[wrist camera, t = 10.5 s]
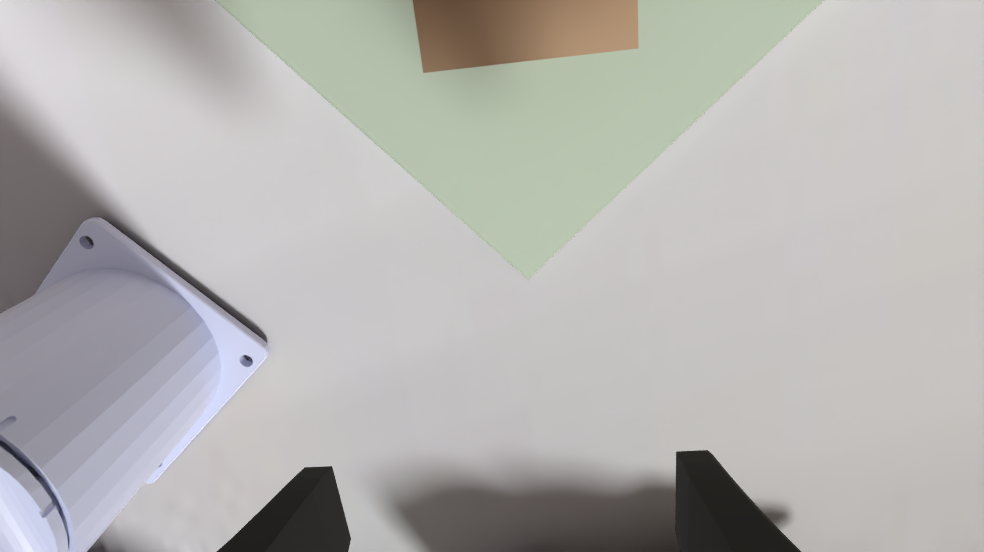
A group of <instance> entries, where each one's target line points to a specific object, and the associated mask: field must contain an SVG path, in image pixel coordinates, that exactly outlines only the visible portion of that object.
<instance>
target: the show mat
mask: <svg viewBox="0 0 984 552" xmlns="http://www.w3.org/2000/svg"><path fill="white" fill-rule="evenodd" d="M215 1H216V2H217V3H218V4H220V5H221V6H222V7H223V8H224V9H225V10H226V11H227V12H229V13H230V14H231V15H232V16H233V17H234V18H235V19H236V20H238V21H239V22H240V23H241V24H242V25H243V26H244V27H245V28H246V29H248V30H249V31H250V32H251V33H252V34H253V35H254V36H255V37H257V38H258V39H259V40H260V41H261V42H262V43H263V44H264V45H266V46H267V47H268V48H269V49H270V50H271V51H272V52H273V53H274V54H276V55H277V56H278V57H279V58H280V59H281V60H282V61H283V62H285V63H286V64H287V65H288V66H289V67H290V68H291V69H292V70H294V71H295V72H296V73H297V74H298V75H299V76H300V77H301V78H302V79H304V80H305V81H306V82H307V83H308V84H309V85H310V86H311V87H313V88H314V89H315V90H316V91H317V92H318V93H319V94H320V95H321V96H323V97H324V98H325V99H326V100H327V101H328V102H329V103H330V104H332V105H333V106H334V107H335V108H336V109H337V110H338V111H339V112H341V113H342V114H343V115H344V116H345V117H346V118H347V119H348V120H349V121H351V122H352V123H353V124H354V125H355V126H356V127H357V128H358V129H360V130H361V131H362V132H363V133H364V134H365V135H366V136H367V137H369V138H370V139H371V140H372V141H373V142H374V143H375V144H376V145H377V146H379V147H380V148H381V149H382V150H383V151H384V152H385V153H386V154H388V155H389V156H390V157H391V158H392V159H393V160H394V161H395V162H396V163H398V164H399V165H400V166H401V167H402V168H403V169H404V170H405V171H407V172H408V173H409V174H410V175H411V176H412V177H413V178H414V179H416V180H417V181H418V182H419V183H420V184H421V185H422V186H423V187H424V188H426V189H427V190H428V191H429V192H430V193H431V194H432V195H433V196H435V197H436V198H437V199H438V200H439V201H440V202H441V203H442V204H444V205H445V206H446V207H447V208H448V209H449V210H450V211H451V212H452V213H454V214H455V215H456V216H457V217H458V218H459V219H460V220H461V221H463V222H464V223H465V224H466V225H467V226H468V227H469V228H470V229H472V230H473V231H474V232H475V233H476V234H477V235H478V236H479V237H480V238H482V239H483V240H484V241H485V242H486V243H487V244H488V245H489V246H491V247H492V248H493V249H494V250H495V251H496V252H497V253H498V254H499V255H501V256H502V257H503V258H504V259H505V260H506V261H507V262H508V263H510V264H511V265H512V266H513V267H514V268H515V269H516V270H517V271H519V272H520V273H521V274H522V275H523V276H524V277H525V278H526V279H527V280H528V279H530V278H531V277H532V276H533V275H534V274H535V273H536V272H537V271H538V270H539V269H540V268H541V267H542V266H543V265H544V264H545V263H546V262H548V261H549V260H550V259H551V258H552V257H553V256H554V255H555V254H556V253H557V252H558V251H559V250H560V249H561V248H562V247H563V246H564V245H566V244H567V243H568V242H569V241H570V240H571V239H572V238H573V237H574V236H575V235H576V234H577V233H578V232H579V231H580V230H581V229H582V228H583V227H585V226H586V225H587V224H588V223H589V222H590V221H591V220H592V219H593V218H594V217H595V216H596V215H597V214H598V213H599V212H600V211H601V210H603V209H604V208H605V207H606V206H607V205H608V204H609V203H610V202H611V201H612V200H613V199H614V198H615V197H616V196H617V195H618V194H619V193H621V192H622V191H623V190H624V189H625V188H626V187H627V186H628V185H629V184H630V183H631V182H632V181H633V180H634V179H635V178H636V177H637V176H639V175H640V174H641V173H642V172H643V171H644V170H645V169H646V168H647V167H648V166H649V165H650V164H651V163H652V162H653V161H654V160H655V159H657V158H658V157H659V156H660V155H661V154H662V153H663V152H664V151H665V150H666V149H667V148H668V147H669V146H670V145H671V144H672V143H673V142H674V141H676V140H677V139H678V138H679V137H680V136H681V135H682V134H683V133H684V132H685V131H686V130H687V129H688V128H689V127H690V126H691V125H692V124H694V123H695V122H696V121H697V120H698V119H699V118H700V117H701V116H702V115H703V114H704V113H705V112H706V111H707V110H708V109H709V108H710V107H712V106H713V105H714V104H715V103H716V102H717V101H718V100H719V99H720V98H721V97H722V96H723V95H724V94H725V93H726V92H727V91H728V90H730V89H731V88H732V87H733V86H734V85H735V84H736V83H737V82H738V81H739V80H740V79H741V78H742V77H743V76H744V75H745V74H746V73H748V72H749V71H750V70H751V69H752V68H753V67H754V66H755V65H756V64H757V63H758V62H759V61H760V60H761V59H762V58H763V57H764V56H766V55H767V54H768V53H769V52H770V51H771V50H772V49H773V48H774V47H775V46H776V45H777V44H778V43H779V42H780V41H781V40H782V39H783V38H785V37H786V36H787V35H788V34H789V33H790V32H791V31H792V30H793V29H794V28H795V27H796V26H797V25H798V24H799V23H800V22H801V21H803V20H804V19H805V18H806V17H807V16H808V15H809V14H810V13H811V12H812V11H813V10H814V9H815V8H816V7H817V6H818V5H819V4H821V3H822V2H823V1H824V0H638V43H639V49H630V50H621V51H612V52H604V53H595V54H586V55H577V56H569V57H560V58H551V59H542V60H534V61H525V62H516V63H507V64H499V65H490V66H481V67H472V68H464V69H455V70H446V71H437V72H429V73H423V68H422V61H421V54H420V48H419V41H418V34H417V27H416V20H415V13H414V7H413V0H215Z"/></svg>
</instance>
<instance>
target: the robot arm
mask: <svg viewBox="0 0 984 552" xmlns="http://www.w3.org/2000/svg"><path fill="white" fill-rule="evenodd" d="M87 236H88V237H90V238H91V239H92V240H93V243H94V245H92V244H90V243H89V242H88V240H87ZM268 354H269V346H268V344H267V343H266V342H265V341H264V340H263V339H262V338H260V337H259V336H258V335H256V334H255V333H254V332H252V331H251V330H250V329H248V328H247V327H246V326H244V325H243V324H242V323H240V322H239V321H238V320H236V319H235V318H234V317H233V316H231V315H230V314H229V313H227V312H226V311H225V310H223V309H222V308H221V307H219V306H218V305H217V304H215V303H214V302H213V301H211V300H210V299H209V298H207V297H206V296H205V295H203V294H202V293H201V292H200V291H198V290H197V289H196V288H194V287H193V286H192V285H190V284H189V283H188V282H186V281H185V280H184V279H182V278H181V277H180V276H178V275H177V274H176V273H174V272H173V271H172V270H170V269H169V268H168V267H167V266H165V265H164V264H163V263H161V262H160V261H159V260H157V259H156V258H155V257H153V256H152V255H151V254H149V253H148V252H147V251H145V250H144V249H143V248H141V247H140V246H139V245H137V244H136V243H135V242H133V241H132V240H131V239H130V238H128V237H127V236H126V235H124V234H123V233H122V232H120V231H119V230H118V229H116V228H115V227H114V226H112V225H111V224H110V223H108V222H107V221H106V220H104V219H102V218H99V217H93V218H90V219H87V220H85V221H84V222H83V223H82V224H81V225H80V227H79V228H78V230H77V231H76V233H75V234H74V236H73V237H72V239H71V240H70V242H69V243H68V245H67V246H66V248H65V249H64V251H63V252H62V254H61V255H60V257H59V258H58V260H57V261H56V263H55V264H54V266H53V267H52V269H51V270H50V272H49V273H48V275H47V276H46V278H45V279H44V281H43V282H42V284H41V285H40V287H39V288H38V290H37V291H36V293H35V294H34V296H32V297H30V298H28V299H26V300H25V301H23V302H21V303H19V304H17V305H15V306H13V307H12V308H10V309H8V310H6V311H4V312H2V313H1V314H0V552H87V551H88V550H89V549H90V547H91V546H92V545H93V544H94V543H95V541H96V540H97V539H98V538H99V537H100V535H101V534H102V533H103V532H104V531H105V530H106V528H107V527H108V526H109V525H110V524H111V522H112V521H113V520H114V519H115V518H116V516H117V515H118V514H119V513H120V512H121V511H122V509H123V508H124V507H125V506H126V505H127V503H128V502H129V501H130V500H131V499H132V497H133V496H134V495H135V494H136V493H137V491H138V490H139V489H140V488H141V487H142V486H143V484H144V483H145V484H150V483H153V482H155V481H156V480H157V479H158V477H159V476H160V475H161V474H162V473H163V472H164V471H165V470H166V469H167V467H168V466H169V465H170V464H171V463H172V462H173V461H174V460H175V459H176V458H177V456H178V455H179V454H180V453H181V452H182V451H183V450H184V449H185V448H186V446H187V445H188V444H189V443H190V442H191V441H192V440H193V439H194V438H195V436H196V435H197V434H198V433H199V432H200V431H201V430H202V429H203V428H204V427H205V425H206V424H207V423H208V422H209V421H210V420H211V419H212V418H213V417H214V415H215V414H216V413H217V412H218V411H219V410H220V409H221V408H222V407H223V406H224V404H225V403H226V402H227V401H228V400H229V399H230V398H231V397H232V396H233V394H234V393H235V392H236V391H237V390H238V389H239V388H240V387H241V386H242V384H243V383H244V382H245V381H246V380H247V379H248V378H249V377H250V376H251V375H252V373H253V372H254V371H255V370H256V369H257V368H258V367H259V366H260V365H261V363H262V362H263V361H264V360H265V359H266V358H267V356H268ZM244 355H247V356H249V357H251V358H252V360H253V362H250V361H248V360H246V359H245V357H244ZM675 529H676V534H677V539H678V543H679V548H680V552H801V551H800V550H799V549H798V548H797V547H796V546H795V545H794V544H793V543H792V542H791V541H790V540H789V539H788V538H787V537H786V536H785V535H784V534H783V533H782V532H781V531H780V530H779V529H778V528H777V527H776V526H775V525H774V524H773V523H772V522H771V521H770V520H769V518H768V517H767V516H766V515H765V514H764V513H763V512H762V511H761V510H760V509H759V508H758V507H757V506H756V505H755V504H754V502H753V501H752V500H751V499H750V498H749V497H748V496H747V495H746V494H745V492H744V491H743V490H742V489H741V488H740V487H739V486H738V484H737V483H736V482H735V481H734V480H733V479H732V477H731V476H730V475H729V474H728V473H727V472H726V470H725V469H724V468H723V467H722V466H721V464H720V463H719V462H718V461H717V459H716V458H715V457H714V456H713V455H712V454H711V453H710V452H709V451H708V450H704V451H681V452H676V526H675ZM350 540H351V537H350V534H349V530H348V526H347V522H346V518H345V514H344V511H343V507H342V503H341V499H340V495H339V491H338V488H337V484H336V480H335V476H334V472H333V468H332V466H330V467H306V468H304V469H303V470H302V471H301V472H299V473H298V474H297V475H296V476H295V477H294V478H293V479H292V480H291V481H290V482H289V483H288V484H287V485H286V486H285V487H284V488H283V489H282V490H281V491H280V492H279V493H278V494H277V495H276V496H275V497H274V498H273V499H272V500H271V501H270V502H269V503H268V504H267V505H266V506H265V507H264V508H263V509H262V510H261V511H260V512H259V513H258V514H257V515H255V516H254V517H253V518H252V519H251V520H250V521H249V522H248V523H247V524H246V525H245V526H244V527H243V528H242V529H241V530H240V531H239V532H238V533H237V534H236V535H235V536H234V537H233V538H232V539H231V540H229V541H228V542H227V543H226V544H225V545H224V546H223V547H222V548H221V549H219V550H218V551H217V552H348V550H349V545H350Z"/></svg>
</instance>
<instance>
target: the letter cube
mask: <svg viewBox="0 0 984 552" xmlns="http://www.w3.org/2000/svg"><path fill="white" fill-rule="evenodd" d="M413 7H414V13H415V20H416V27H417V34H418V41H419V48H420V54H421V61H422V68H423V73H429V72H437V71H446V70H455V69H464V68H472V67H481V66H490V65H499V64H507V63H516V62H525V61H534V60H542V59H551V58H560V57H569V56H577V55H586V54H595V53H604V52H612V51H621V50H630V49H639V43H638V0H413Z"/></svg>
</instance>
